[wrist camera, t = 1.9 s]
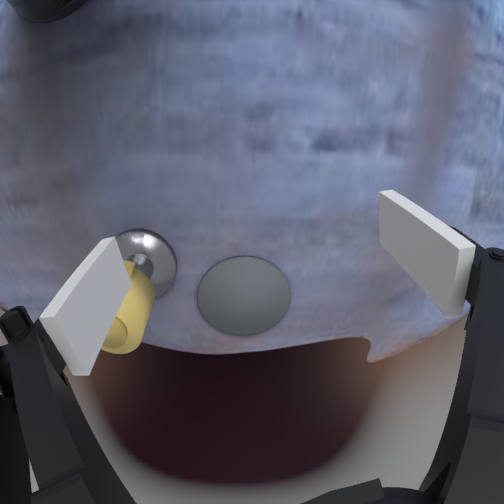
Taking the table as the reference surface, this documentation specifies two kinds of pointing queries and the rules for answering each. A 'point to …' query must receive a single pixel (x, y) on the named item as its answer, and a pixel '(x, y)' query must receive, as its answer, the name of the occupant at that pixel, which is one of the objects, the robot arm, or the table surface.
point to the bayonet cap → (131, 314)
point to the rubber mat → (243, 295)
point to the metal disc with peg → (149, 256)
